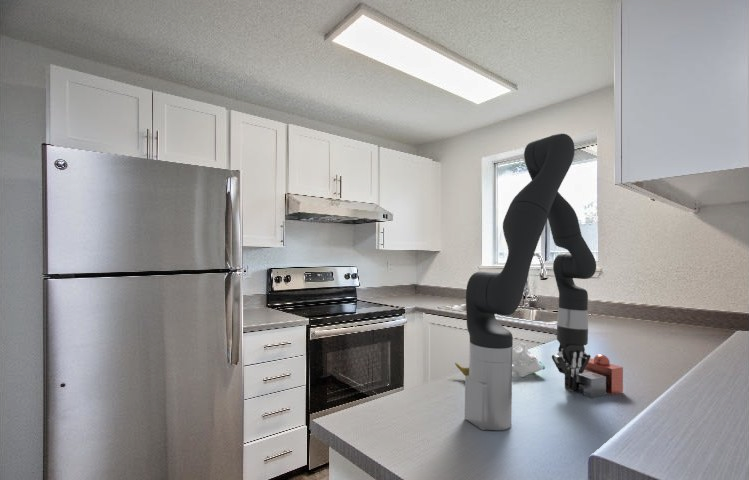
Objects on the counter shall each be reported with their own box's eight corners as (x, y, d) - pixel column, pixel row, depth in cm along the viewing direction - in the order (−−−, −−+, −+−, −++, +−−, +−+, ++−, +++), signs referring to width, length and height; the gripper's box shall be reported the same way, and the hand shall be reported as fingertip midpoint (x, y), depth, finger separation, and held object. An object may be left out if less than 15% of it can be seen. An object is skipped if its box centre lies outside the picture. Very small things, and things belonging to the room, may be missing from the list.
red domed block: (597, 398, 98) (597, 361, 98) (567, 386, 106) (567, 353, 106) (622, 392, 102) (622, 358, 103) (592, 382, 111) (592, 350, 111)
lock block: (591, 398, 98) (591, 379, 98) (564, 387, 105) (564, 370, 105) (605, 395, 100) (606, 376, 100) (578, 385, 108) (578, 367, 108)
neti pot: (497, 392, 100) (497, 367, 101) (450, 377, 111) (451, 355, 111) (504, 388, 103) (505, 364, 104) (458, 374, 114) (459, 353, 114)
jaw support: (540, 372, 108) (515, 344, 113) (518, 390, 111) (495, 362, 116) (551, 363, 118) (527, 338, 123) (530, 380, 121) (508, 355, 126)
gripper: (567, 328, 95) (565, 397, 94) (601, 327, 100) (599, 392, 100) (543, 323, 102) (541, 387, 101) (576, 322, 107) (574, 382, 106)
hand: (570, 389), depth 100 cm, fingers closed
